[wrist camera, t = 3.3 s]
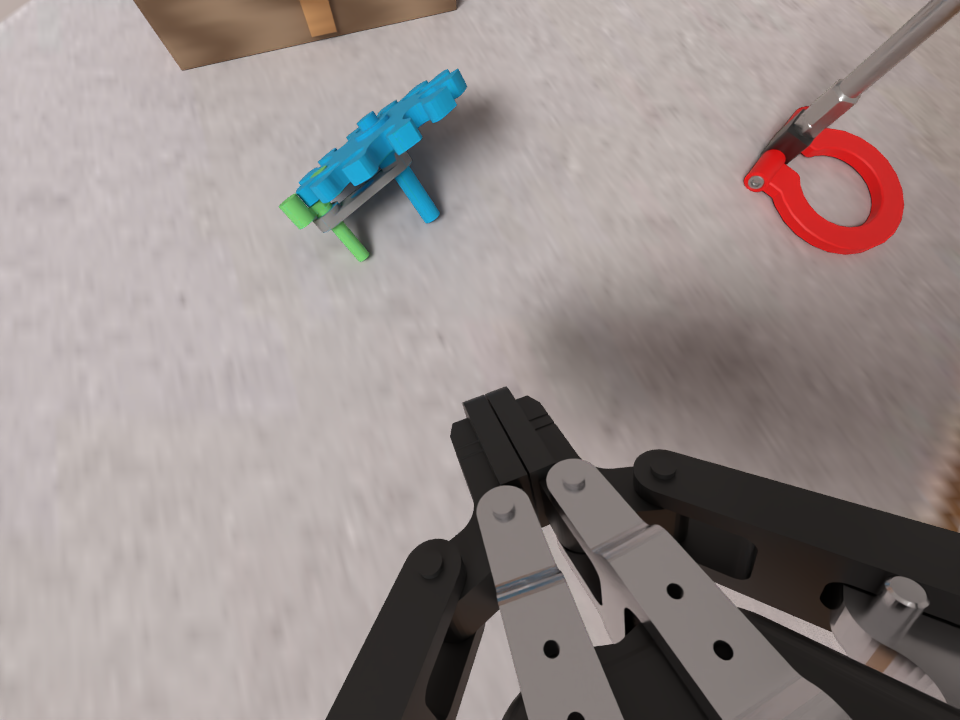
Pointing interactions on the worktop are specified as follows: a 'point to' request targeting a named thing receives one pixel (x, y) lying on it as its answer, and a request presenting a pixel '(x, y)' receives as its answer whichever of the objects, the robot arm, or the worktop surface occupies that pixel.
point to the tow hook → (844, 147)
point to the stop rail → (268, 23)
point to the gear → (374, 161)
